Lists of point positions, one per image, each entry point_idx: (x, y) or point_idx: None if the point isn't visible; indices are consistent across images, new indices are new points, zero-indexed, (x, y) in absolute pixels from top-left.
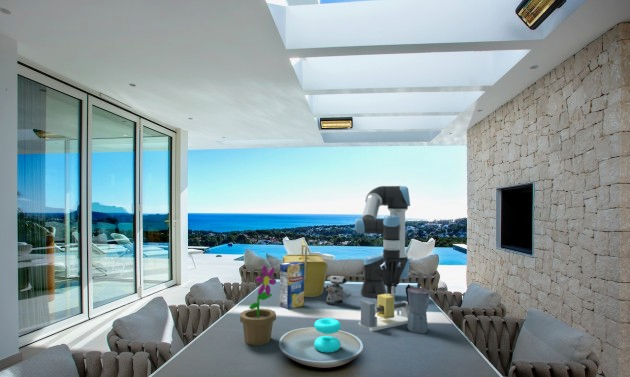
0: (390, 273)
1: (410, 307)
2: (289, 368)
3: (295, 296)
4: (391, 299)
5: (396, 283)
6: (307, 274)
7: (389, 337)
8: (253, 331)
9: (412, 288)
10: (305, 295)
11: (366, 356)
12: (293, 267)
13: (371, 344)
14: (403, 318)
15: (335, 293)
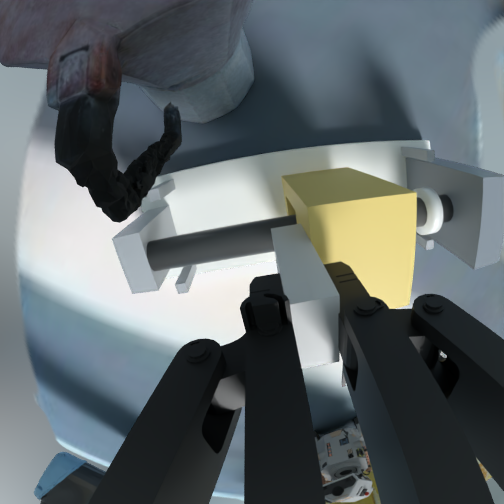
0: (478, 493)
1: (246, 17)
2: None
3: None
4: (341, 195)
5: (226, 359)
6: (372, 501)
7: (388, 51)
8: None
9: None
10: None
11: (488, 15)
12: (484, 475)
13: (464, 50)
14: (191, 208)
15: (359, 446)
